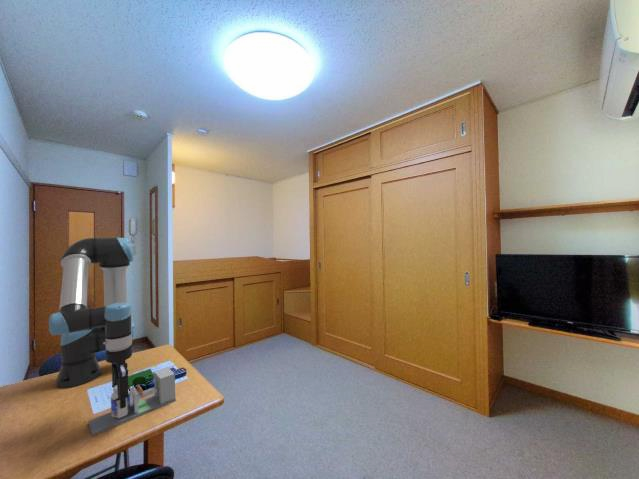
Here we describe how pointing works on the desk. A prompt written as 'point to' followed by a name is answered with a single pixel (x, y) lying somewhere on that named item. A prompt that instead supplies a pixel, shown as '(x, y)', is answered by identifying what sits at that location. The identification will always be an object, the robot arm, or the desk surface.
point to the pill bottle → (114, 402)
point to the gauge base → (141, 403)
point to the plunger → (139, 395)
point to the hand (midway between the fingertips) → (120, 412)
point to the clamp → (140, 378)
